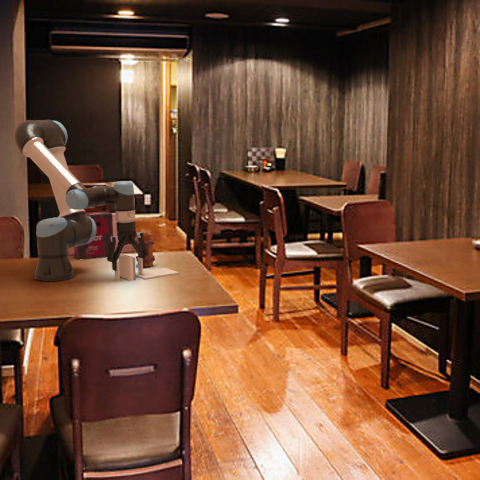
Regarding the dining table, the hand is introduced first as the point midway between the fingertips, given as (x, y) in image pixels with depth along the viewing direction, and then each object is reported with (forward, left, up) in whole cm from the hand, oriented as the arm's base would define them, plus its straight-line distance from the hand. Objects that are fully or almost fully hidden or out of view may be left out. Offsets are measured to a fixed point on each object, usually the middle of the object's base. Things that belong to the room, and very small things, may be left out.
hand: (129, 276), depth 265 cm
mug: (-17, +17, -1) cm, 24 cm away
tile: (0, -1, -1) cm, 1 cm away
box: (-48, +8, -1) cm, 49 cm away
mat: (+1, +11, -1) cm, 11 cm away
